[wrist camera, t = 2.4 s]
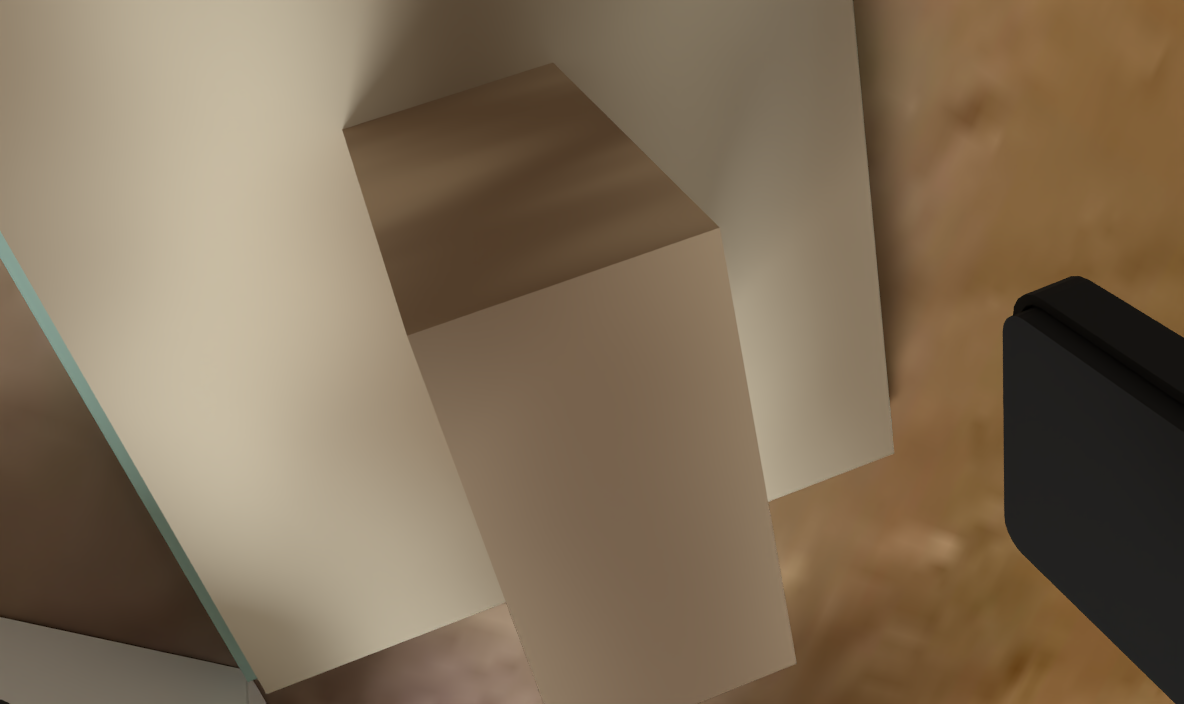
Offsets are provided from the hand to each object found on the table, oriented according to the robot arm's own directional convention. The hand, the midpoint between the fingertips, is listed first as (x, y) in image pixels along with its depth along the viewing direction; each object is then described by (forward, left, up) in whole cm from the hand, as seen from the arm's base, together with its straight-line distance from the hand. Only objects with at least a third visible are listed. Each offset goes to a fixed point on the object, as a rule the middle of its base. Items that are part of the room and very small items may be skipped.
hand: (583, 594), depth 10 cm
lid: (-1, 0, -8) cm, 8 cm away
